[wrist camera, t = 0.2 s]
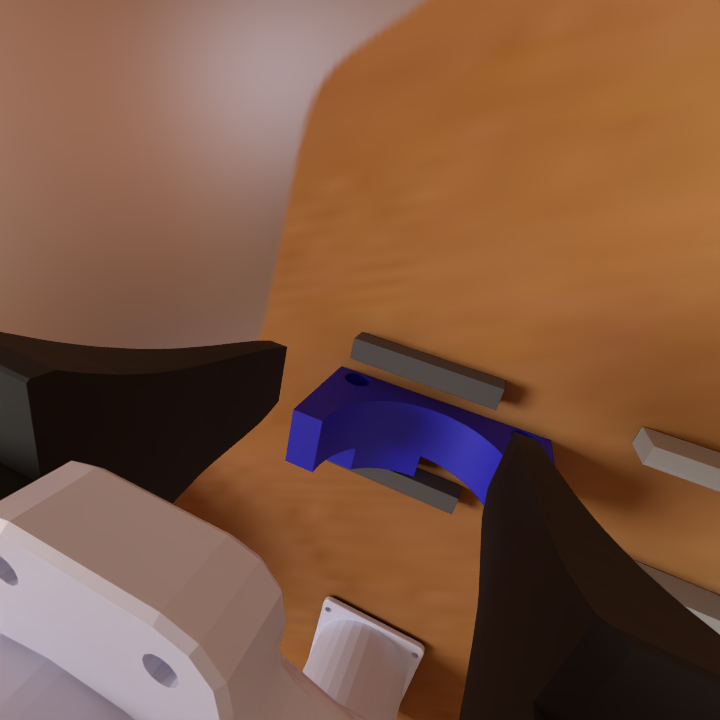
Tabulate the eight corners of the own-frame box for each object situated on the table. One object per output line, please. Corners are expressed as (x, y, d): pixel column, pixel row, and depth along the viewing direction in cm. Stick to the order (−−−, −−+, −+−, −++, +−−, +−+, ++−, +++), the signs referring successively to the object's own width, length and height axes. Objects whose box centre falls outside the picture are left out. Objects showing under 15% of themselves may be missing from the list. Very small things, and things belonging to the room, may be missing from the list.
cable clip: (329, 427, 25) (281, 483, 20) (342, 365, 24) (293, 409, 18) (518, 502, 23) (520, 590, 17) (550, 438, 21) (563, 515, 15)
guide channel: (454, 501, 24) (452, 514, 23) (334, 450, 26) (327, 460, 25) (505, 380, 20) (504, 389, 19) (362, 332, 22) (354, 338, 21)
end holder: (745, 623, 20) (774, 674, 18) (566, 548, 22) (572, 585, 20) (867, 502, 17) (921, 546, 14) (642, 426, 19) (659, 455, 17)
